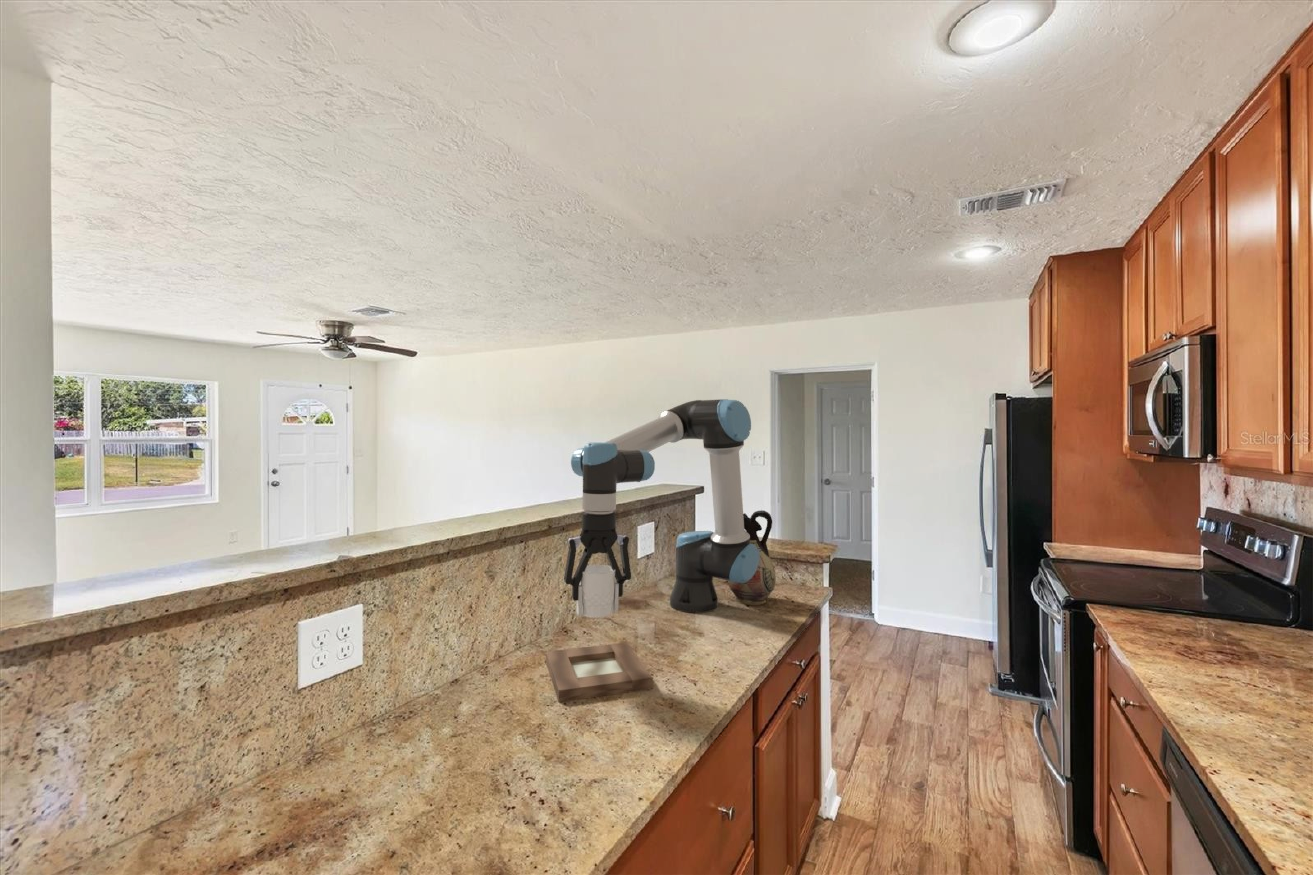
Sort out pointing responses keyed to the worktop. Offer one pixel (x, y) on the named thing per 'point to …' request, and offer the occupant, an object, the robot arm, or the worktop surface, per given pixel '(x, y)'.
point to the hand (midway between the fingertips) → (597, 612)
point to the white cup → (598, 591)
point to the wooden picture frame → (596, 671)
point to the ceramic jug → (765, 573)
